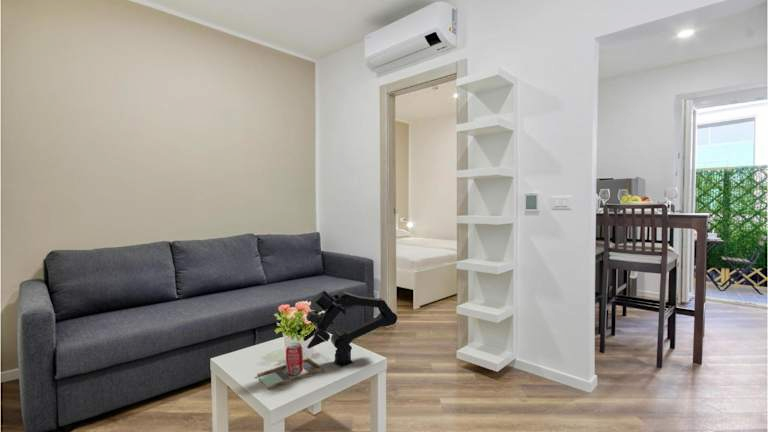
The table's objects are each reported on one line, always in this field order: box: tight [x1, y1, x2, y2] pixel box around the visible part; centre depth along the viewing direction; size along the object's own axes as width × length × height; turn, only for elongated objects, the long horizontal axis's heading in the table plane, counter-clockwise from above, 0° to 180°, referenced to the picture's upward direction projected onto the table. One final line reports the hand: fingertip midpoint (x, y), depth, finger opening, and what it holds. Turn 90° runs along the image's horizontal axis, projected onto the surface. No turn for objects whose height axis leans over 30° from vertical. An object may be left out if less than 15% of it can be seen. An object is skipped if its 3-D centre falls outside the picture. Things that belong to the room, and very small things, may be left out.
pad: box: [258, 372, 284, 388], centre depth 152 cm, size 7×10×1 cm
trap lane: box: [256, 357, 324, 390], centre depth 157 cm, size 24×14×1 cm, turn 129°
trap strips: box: [274, 362, 317, 380], centre depth 159 cm, size 16×10×1 cm, turn 129°
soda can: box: [285, 342, 304, 376], centre depth 158 cm, size 7×7×12 cm
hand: (305, 344), depth 160 cm, fingers open, 9 cm apart
